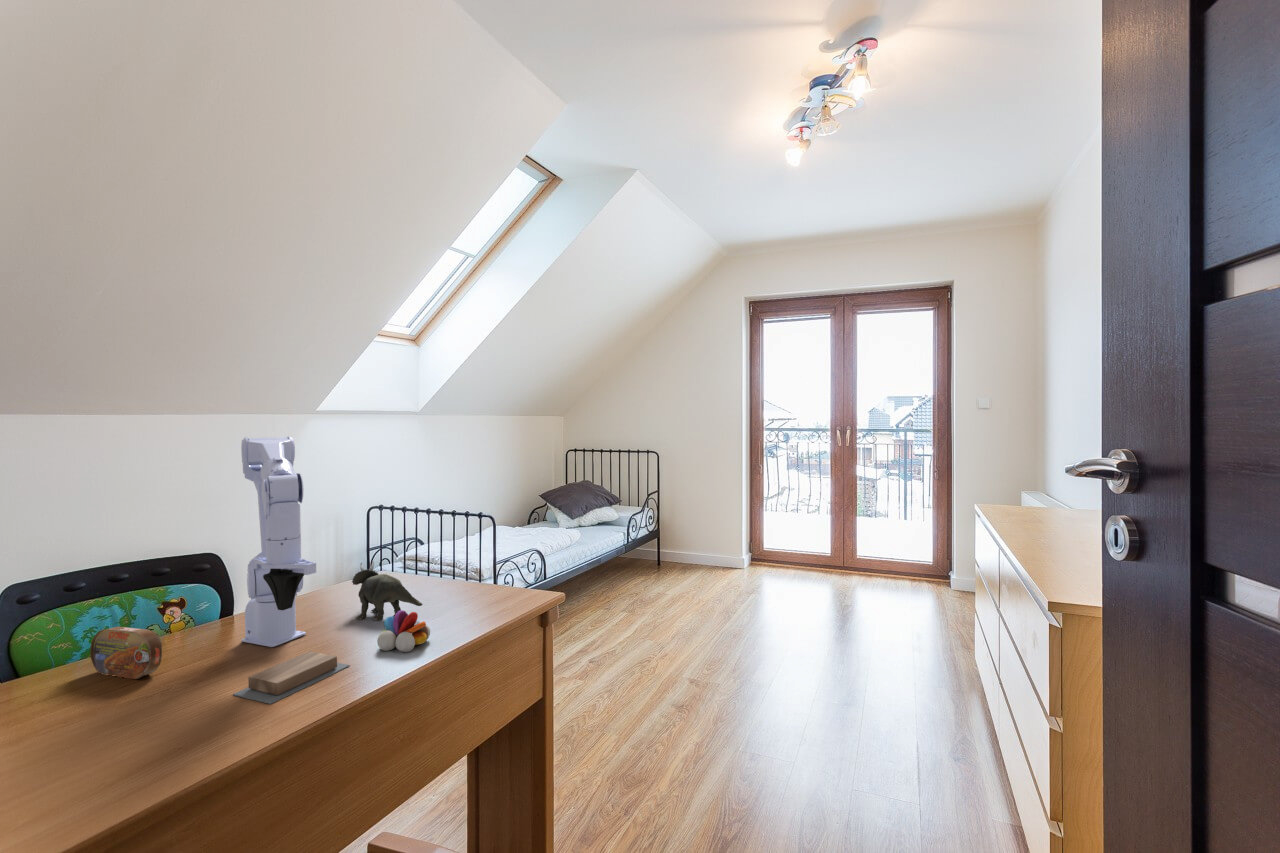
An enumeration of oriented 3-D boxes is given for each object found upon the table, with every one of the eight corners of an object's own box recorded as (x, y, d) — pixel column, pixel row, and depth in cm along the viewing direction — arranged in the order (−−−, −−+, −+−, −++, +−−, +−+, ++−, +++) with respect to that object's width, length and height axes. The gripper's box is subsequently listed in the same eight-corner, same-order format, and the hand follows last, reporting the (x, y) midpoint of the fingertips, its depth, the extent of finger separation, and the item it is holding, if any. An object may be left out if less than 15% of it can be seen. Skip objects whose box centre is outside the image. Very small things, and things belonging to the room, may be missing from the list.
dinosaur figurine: (427, 619, 140) (426, 571, 139) (395, 630, 133) (394, 580, 132) (369, 604, 152) (369, 559, 151) (337, 613, 144) (336, 567, 144)
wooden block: (248, 676, 104) (277, 683, 101) (309, 651, 115) (336, 656, 112) (248, 689, 104) (277, 696, 101) (309, 662, 115) (337, 668, 112)
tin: (88, 673, 112) (87, 627, 112) (107, 666, 115) (107, 622, 115) (148, 682, 108) (147, 635, 107) (166, 675, 111) (165, 629, 110)
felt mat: (232, 695, 102) (232, 694, 102) (314, 659, 117) (314, 658, 117) (270, 704, 99) (270, 702, 99) (349, 666, 114) (349, 664, 114)
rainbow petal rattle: (413, 656, 119) (413, 619, 119) (370, 652, 121) (369, 616, 121) (436, 640, 127) (436, 605, 127) (395, 637, 129) (394, 603, 129)
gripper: (236, 539, 114) (238, 610, 114) (292, 544, 109) (293, 619, 109) (271, 532, 121) (273, 600, 121) (325, 537, 115) (326, 607, 116)
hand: (285, 608), depth 116 cm, fingers closed
